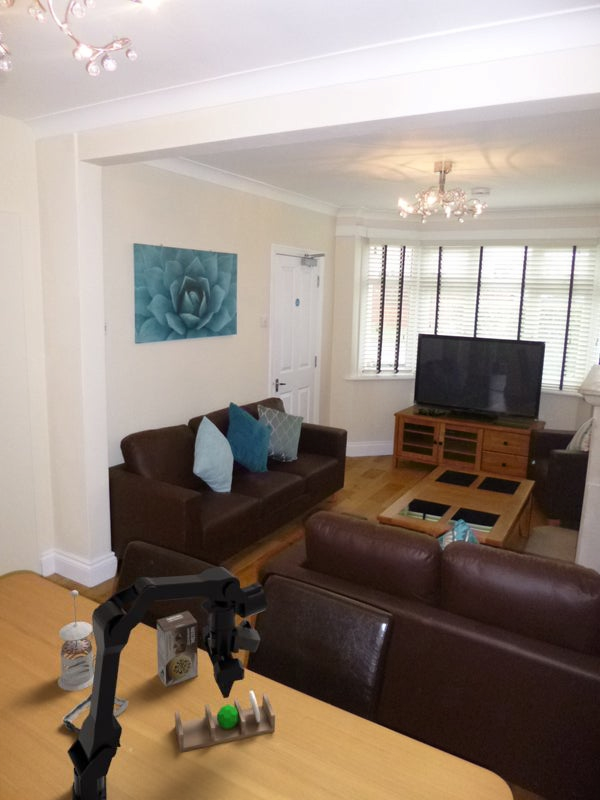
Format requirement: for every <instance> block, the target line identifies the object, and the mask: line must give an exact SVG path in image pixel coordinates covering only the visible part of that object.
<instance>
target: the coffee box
mask: <svg viewBox="0 0 600 800" xmlns="http://www.w3.org/2000/svg"><path fill="white" fill-rule="evenodd" d="M156 641H157V642H156V645H157V646H156V647H157V650H156V651H157V675H158V677H159V678H160V680H161V682H162V683H163V685H164V687H165V688H167V687H170V686H172V685H173V686H174V685H176V684H179V683H182V682H185V681H187V680H190V679H192V678H195V677H198V675H199V672H198V671H199V665H198V659H199V657H198V655H199V654H198V621H197V620H196V619H195V618H194V616H193V615H192V613H191V611H189V610H186V611H183V612H178V613H176V614H172V615H169V616H166V617H163V618H159V619H156Z"/></svg>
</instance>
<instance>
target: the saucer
mask: <svg viewBox="0 0 600 800" xmlns="http://www.w3.org/2000/svg"><path fill="white" fill-rule="evenodd" d="M248 698H249V702H250V705H251V706H250V708H252V711H253V714H254V717H255V720H256V722H257V723H258V722H261V719H260V713H259V709H258V707H259V706H258V702H257V698H256V694H255V693H254V690H248Z"/></svg>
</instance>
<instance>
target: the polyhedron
mask: <svg viewBox="0 0 600 800" xmlns="http://www.w3.org/2000/svg"><path fill="white" fill-rule="evenodd" d="M216 715H217V721H218V723H219V725H220V726H221V727H223V728H225V729H229V728H232V727H234V726H235V724H236V723H237V721H238V718H239V714H238V711H237V710H236V708H235V707H234V705H231V704H226V705H223V706H221V707H220V709H219V711H218V713H217V714H216Z"/></svg>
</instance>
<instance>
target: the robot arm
mask: <svg viewBox="0 0 600 800" xmlns="http://www.w3.org/2000/svg"><path fill="white" fill-rule="evenodd" d="M265 594H266V593H265V592H264V589H263V585H262V584H260V582H257V581H256V582H254V583H252V584H250V585H247V586H243V587H241V582H240V579H239V578H238V577H237V576H235V575H234V574H233V573H232V572H230V571H229V570H227V568H226V567H223V566H216V567H211V568H207V569H205V570H204V571H202V572H201V573H197V574H192V575H189V574H188V575H176V576H175V575H174V576H160V577H146V576H142V577H139V578H137V579H136V580H135V581H134V582H133V583H132V584H130V585H129V586H126V587H124V588H123V589H120V590H118V591H116V592H115V593H113V594H112V595H110V596H109V598H108V599H107V600H105V602H103V603H101V604H99V605H98V606H97V607H96V608H94V610H93V611H92V612H93V613H92V615H91V622H92V623H91V625H92V628H93V629H92V631H93V632H92V634H93V635H94V636H93V639H94V642H95V646H96V653H95V654H96V656H95V658H96V660H94V678H93V684H92V688H91V693H92V696H91V704H90V705H89V712H88V715H87V716H86V718H85V719H84V720H83V721H82V724H81V728H80V729H81V731H80V734H78V737H77V738H76V739H75V741H74V742H73V743H72V744H71V746H70V747H69V749H68V750H67V753H66V754H68V757H69V759H70V761H71V763H72V765H73V782H72V800H107V799H108V798H107V794H108V793H107V775H108V772H109V769H110V768H111V767H110V766H111V765H112V761H113V758H114V757H116V755H117V752H118V748H121V746H122V745H121V737H122V733H123V728H122V726H121V724H120V722H119V721H118V719H117V718H116V717H115V716H114V714H113V712H115V711H114V710H115V709H114V708H115V697H116V695H117V694H116V693H117V683H118V675H119V669H120V668H119V667H120V659H121V653H122V651H123V650H124V648H125V647H126V646H127V644H128V643H129V640H130V636H131V632H132V631H133V630H134V628H135V627H137V626H138V625H139V624H140V622H141V621H142V620H143V618H144V616H145V615H146V612H147V611H148V609H149V607H151V606H152V605H153V604H154V603H155V602H162V601H172V600H173V601H174V600H184V599H196V598H197V599H198V598H204V599H206V600H204V601H203V602H202V603H201V605H200V607H201V608H202V609H203V611H205V612H206V613H207V614H208V615H209V622H208V623H207V625H205V626H204V627H203V628H201V629H202V632H201V633H202V639H203V643H204V644H203V645H204V647H205V650H206V653H207V655H208V657H209V659H210V661H211V664H212V669H213V674H212V675H213V677H214V680H215V683H216V685H217V687H218V689H219V690H220V694H221V695H222V697H223V699H228V698H229V697H230V694H231V691H232V689H233V686H234V683H235V682H238V681H242V680H243V681H244V679H245V668H244V665H243V662H242V660H240V658H238V657H235V658H234V656H233V654H239V653H240V650H241V651H242V650H243V651H247V652H250V653H256V651H257V649H258V647H259V644H260V642H261V637H260V634H259V632H258V631H257V630H256V629H255V627H252V624H251V622H250V619H245V618H247V617H251V616H253V615H256V614H259V613H262V612H264V611H266V610H267V608H268V600H267V597H266V595H265ZM132 602H133V604H132V606H131V607H130V609H128V611H127V612H126V611H124V609H123V607H124V606H125V605H127V604H131V603H132ZM236 615H237V616H239V617H240V618H242V619H243V620H242V621H241V622H240V623H239V624H238V626H236ZM232 653H233V654H232Z"/></svg>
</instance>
